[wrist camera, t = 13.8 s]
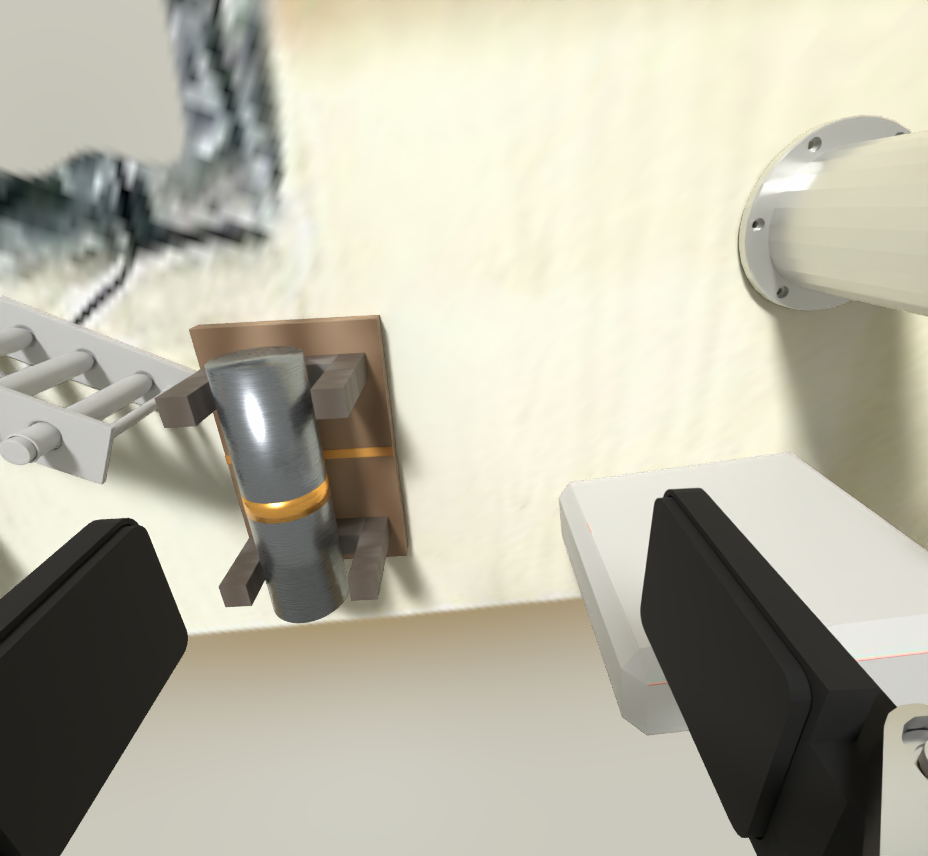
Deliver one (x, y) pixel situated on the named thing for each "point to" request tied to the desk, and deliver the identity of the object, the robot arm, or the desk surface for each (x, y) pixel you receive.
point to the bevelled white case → (780, 542)
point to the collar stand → (341, 433)
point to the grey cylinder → (281, 477)
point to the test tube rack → (86, 361)
